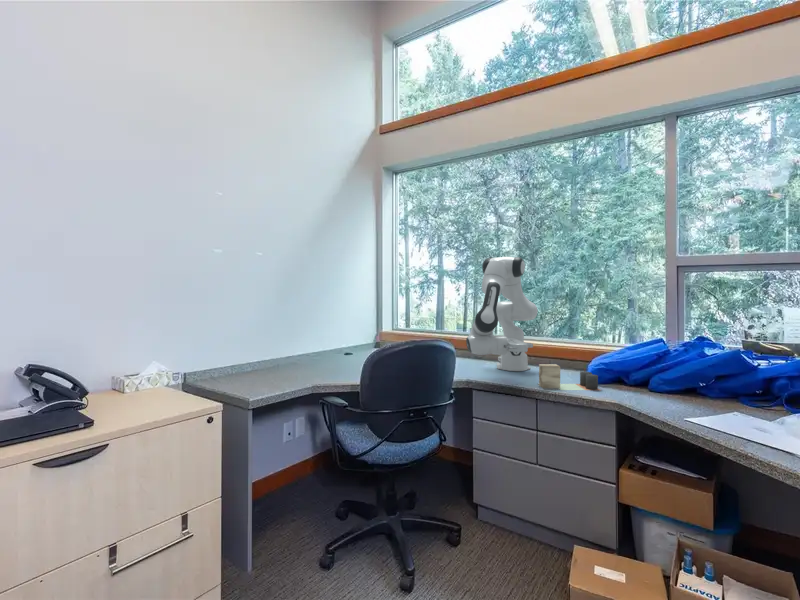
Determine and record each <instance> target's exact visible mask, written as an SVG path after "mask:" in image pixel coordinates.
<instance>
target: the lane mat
mask: <svg viewBox="0 0 800 600" xmlns="http://www.w3.org/2000/svg"><path fill="white" fill-rule="evenodd" d="M537 386H539V383H537ZM542 389H543V391H590V390H589V389H586V387H585V386H581V385H580V383H560V388H542ZM597 391H601V388H598V390H597Z"/></svg>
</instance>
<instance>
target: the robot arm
mask: <svg viewBox="0 0 800 600" xmlns="http://www.w3.org/2000/svg"><path fill="white" fill-rule="evenodd" d="M481 268H482V274H483V278H482V281H481V290H482V292H483V294H484V298H483V302H482V307H481V308H480V309H479V310H478V312H477V313H476V315H475V318H474V321H473V324H472V327H471V330H470V332H469V334H468V336H467V337H466V338H465V339H466V340H465V342H466V343H465V344H466V345H465V346H466V349H467V350H468V352H469V354H473V355H474V354H475V355H485V356H486V355H491V354H492V355H497V356H498V355H499V356H498V357H497V360H498V361H499V362H497V363H496V368H497V370H503V371H509V372H510V371H511V372H524V371H528V370H531V367H530V366H528V365H529V364H528V362H529V361H528V355H527V353H528V349H530V348H531V349H533V348H534V344H533V343H532V342H525V333H524V331H523V329H522V328H520V327H519V326H517V325H515V322H514V321H519V322H528V321H533V320H534V319H536V317H537V316H538V307H537V305H536V304H535V303H534V302H533V301H530V300H529V299H528V298H527V296H525V294H524V291H523V288H522V282H521V279H522V278H521V277H522V276H523V275H524V273H525V271H526V264H525V260H524V259H523V258H522V257H520V256H499V257H498V256H497V257H488V258H486V259H484V260H483V262H482V267H481ZM500 295H502V296H503V298H505V299H507V300H508V301H507V300H504V301H499V297H500ZM498 323H499V325H500V326H501V328H502V331H503V335H494V333H493V332H494V330H495V329H496V328H497V326H498Z"/></svg>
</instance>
